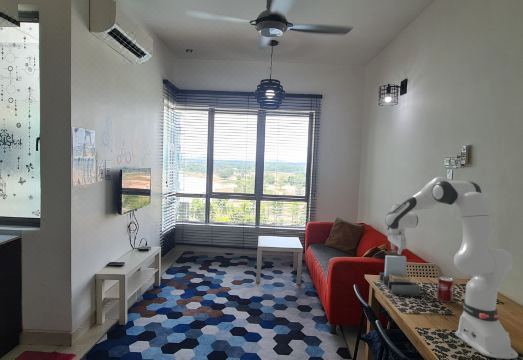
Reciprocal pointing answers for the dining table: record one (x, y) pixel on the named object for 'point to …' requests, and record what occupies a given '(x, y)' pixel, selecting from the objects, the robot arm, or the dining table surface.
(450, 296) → the soda can
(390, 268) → the acrylic sheet
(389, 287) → the rack
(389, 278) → the offcut back
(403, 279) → the offcut front
